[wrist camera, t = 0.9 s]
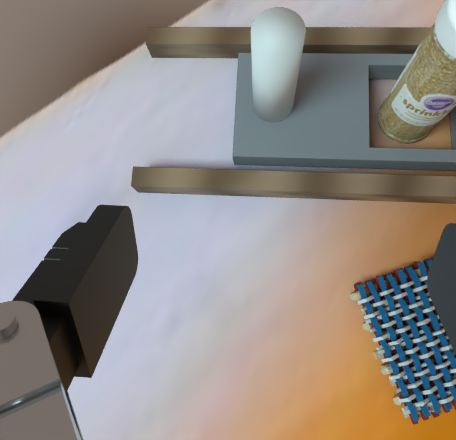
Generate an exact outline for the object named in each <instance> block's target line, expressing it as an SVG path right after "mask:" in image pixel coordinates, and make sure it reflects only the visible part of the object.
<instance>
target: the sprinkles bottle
mask: <svg viewBox="0 0 456 440" xmlns="http://www.w3.org/2000/svg"><path fill="white" fill-rule="evenodd" d="M455 106H456V0H445V2H444V4H443V5H442V7H441V8H440V10H439V12H438V14H437V17H436V20H435V24H434V25H433V27H432V29H431V30H430V31H429V33H428V35H427V36H426V37H425V39H424V41H422V43H421V44H420V45H419V46H418V48H417V49H416V51H415V53H414V54H413V56H412V57H411V59H410V60H409V62H408V64H407V65H406V67H405V68H404V70H403V72H402V73H401V75H400V76H399V78H398V80H397V81H396V83H395V85H394V86H393V88H392V90H391V93H390V95H389V97H388V98H387V99H386V100H385V101H384V102H383V103H382V105H381V107H380V108H379V112H378V123H379V125H380V128H381V129H382V130H383V132H384V133H385V134H386V135H387V136H388V137H389V138H391V139H392V140H395V141H397V142H400V143H407V144H408V143H414V142H417V141H419V140H421V139H423V138H424V137H426V136H427V135H428V134H429V132H430V131H431V130H432V128H433V127H434V126H435V125H436V124H437V123H438V122H439V121H441V120H442V119H443V118H444V117H445V116H446V115H447V114H448V113H449V112H450V111H451V110H452V109H453V108H454V107H455Z"/></svg>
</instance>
